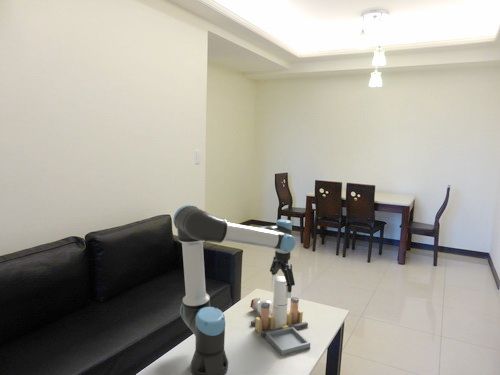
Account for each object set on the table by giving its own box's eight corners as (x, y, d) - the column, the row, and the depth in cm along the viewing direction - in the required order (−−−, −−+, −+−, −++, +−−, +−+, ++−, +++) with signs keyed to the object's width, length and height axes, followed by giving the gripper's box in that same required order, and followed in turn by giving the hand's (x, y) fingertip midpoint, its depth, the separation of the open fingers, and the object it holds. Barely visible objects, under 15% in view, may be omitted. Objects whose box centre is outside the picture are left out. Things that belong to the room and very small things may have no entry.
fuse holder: (262, 337, 164) (262, 325, 163) (250, 324, 175) (251, 313, 174) (307, 327, 175) (308, 315, 174) (294, 315, 186) (294, 304, 186)
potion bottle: (271, 324, 179) (253, 315, 191) (281, 309, 184) (263, 302, 195) (262, 313, 175) (244, 304, 187) (273, 298, 180) (255, 291, 192)
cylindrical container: (285, 330, 171) (288, 282, 168) (271, 328, 172) (273, 280, 169) (286, 323, 178) (289, 276, 175) (273, 321, 179) (275, 275, 176)
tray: (281, 355, 151) (281, 350, 150) (265, 337, 164) (265, 332, 164) (310, 348, 157) (310, 343, 157) (292, 331, 170) (292, 326, 170)
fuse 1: (262, 332, 169) (263, 307, 167) (258, 328, 173) (259, 303, 171) (270, 330, 171) (271, 305, 169) (266, 326, 174) (267, 301, 173)
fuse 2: (292, 325, 176) (293, 301, 174) (287, 321, 180) (289, 297, 178) (299, 323, 178) (300, 299, 176) (294, 320, 182) (295, 296, 180)
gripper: (303, 258, 160) (301, 301, 163) (276, 243, 183) (275, 281, 186) (289, 260, 157) (287, 304, 160) (264, 244, 180) (262, 283, 182)
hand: (280, 292), depth 173 cm, fingers open, 13 cm apart
